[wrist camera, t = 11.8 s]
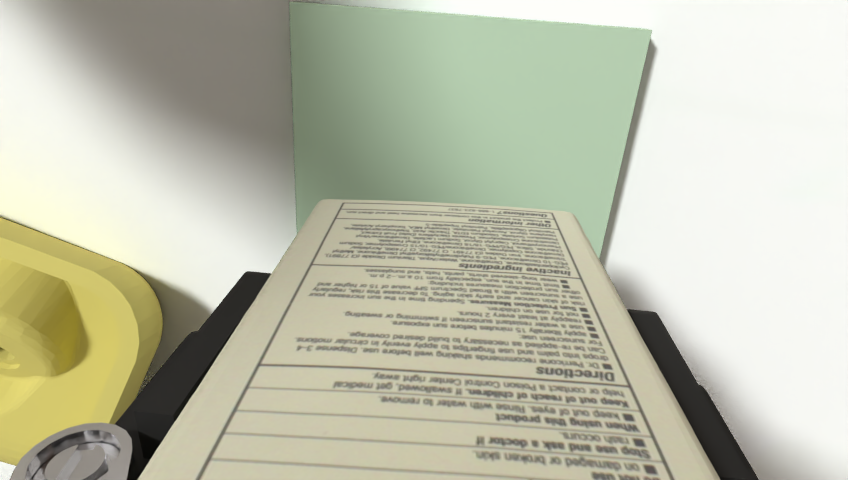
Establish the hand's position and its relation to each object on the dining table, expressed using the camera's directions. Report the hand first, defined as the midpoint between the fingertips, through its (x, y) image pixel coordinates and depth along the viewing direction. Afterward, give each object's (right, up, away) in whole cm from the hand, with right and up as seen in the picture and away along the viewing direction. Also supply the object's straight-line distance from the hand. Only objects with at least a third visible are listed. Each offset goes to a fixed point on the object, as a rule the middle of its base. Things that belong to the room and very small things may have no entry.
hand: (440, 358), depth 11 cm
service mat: (+1, +3, +7) cm, 8 cm away
